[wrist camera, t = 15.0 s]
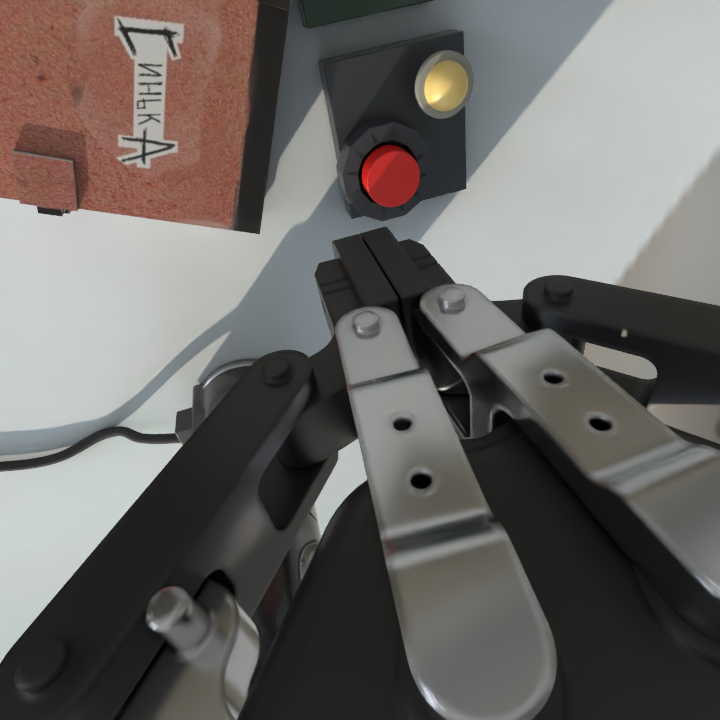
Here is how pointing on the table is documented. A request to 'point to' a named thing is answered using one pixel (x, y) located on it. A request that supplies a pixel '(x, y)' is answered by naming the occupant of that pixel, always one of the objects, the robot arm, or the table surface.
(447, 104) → the lamp lens
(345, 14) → the switch bracket
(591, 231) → the table surface
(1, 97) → the book
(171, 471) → the robot arm
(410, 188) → the button
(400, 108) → the emergency stop panel
